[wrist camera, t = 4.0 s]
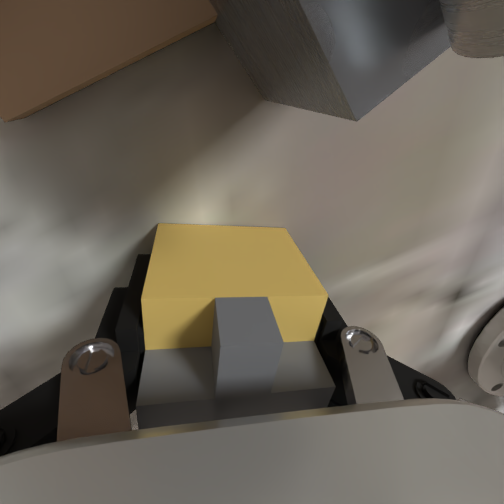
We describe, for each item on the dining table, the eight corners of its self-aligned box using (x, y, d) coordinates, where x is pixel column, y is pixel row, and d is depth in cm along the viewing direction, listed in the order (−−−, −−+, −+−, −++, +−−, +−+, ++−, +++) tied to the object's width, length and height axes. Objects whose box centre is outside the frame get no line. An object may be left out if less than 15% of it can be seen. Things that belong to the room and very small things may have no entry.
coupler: (284, 228, 12) (356, 338, 7) (266, 318, 14) (308, 449, 9) (158, 223, 11) (128, 351, 6) (162, 322, 13) (144, 473, 8)
